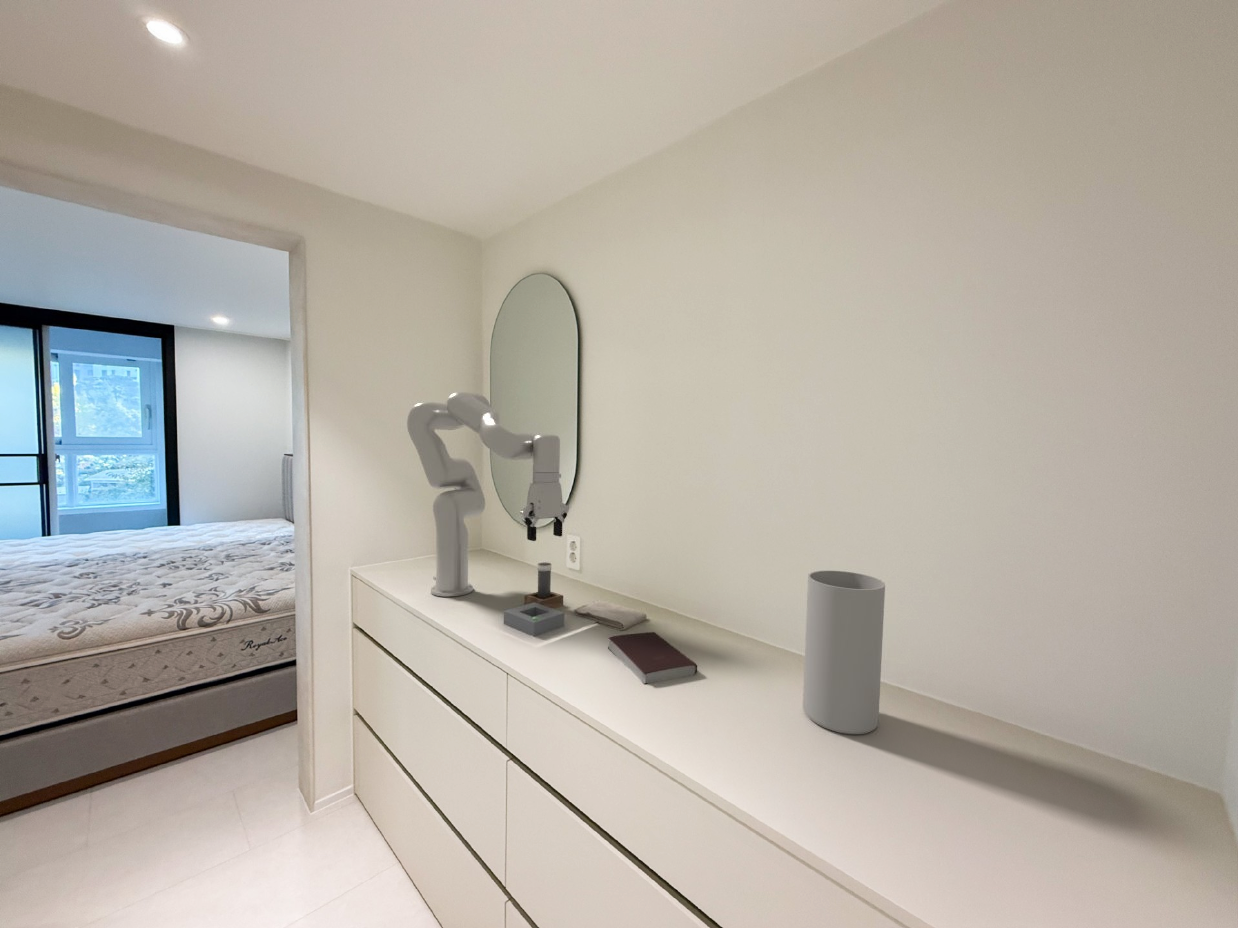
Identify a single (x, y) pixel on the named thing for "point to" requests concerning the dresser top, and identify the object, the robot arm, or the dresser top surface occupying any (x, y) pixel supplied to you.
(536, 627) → the port
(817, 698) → the cylinder vase
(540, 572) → the grey and white cylinder
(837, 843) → the dresser top surface
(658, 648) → the book
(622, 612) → the washcloth
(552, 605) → the holster
